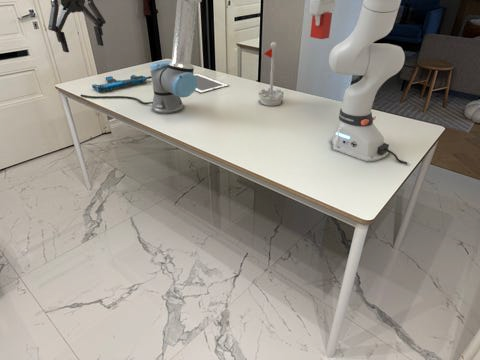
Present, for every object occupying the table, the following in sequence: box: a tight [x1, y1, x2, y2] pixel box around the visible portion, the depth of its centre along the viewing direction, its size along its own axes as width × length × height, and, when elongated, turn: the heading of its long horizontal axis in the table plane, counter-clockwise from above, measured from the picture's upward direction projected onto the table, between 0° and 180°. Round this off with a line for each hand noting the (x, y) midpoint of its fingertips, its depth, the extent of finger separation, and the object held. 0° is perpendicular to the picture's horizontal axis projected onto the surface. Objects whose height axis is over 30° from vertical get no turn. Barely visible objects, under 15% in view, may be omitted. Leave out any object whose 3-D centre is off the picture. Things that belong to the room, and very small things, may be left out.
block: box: [309, 12, 333, 40], centre depth 156 cm, size 5×7×11 cm
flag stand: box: [258, 41, 285, 107], centre depth 172 cm, size 13×13×30 cm
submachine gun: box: [91, 74, 152, 93], centre depth 206 cm, size 34×4×25 cm
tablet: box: [193, 73, 229, 94], centre depth 207 cm, size 32×20×1 cm, turn 41°
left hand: (84, 48), depth 124 cm, fingers open, 13 cm apart
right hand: (321, 24), depth 156 cm, fingers closed on block, 6 cm apart
